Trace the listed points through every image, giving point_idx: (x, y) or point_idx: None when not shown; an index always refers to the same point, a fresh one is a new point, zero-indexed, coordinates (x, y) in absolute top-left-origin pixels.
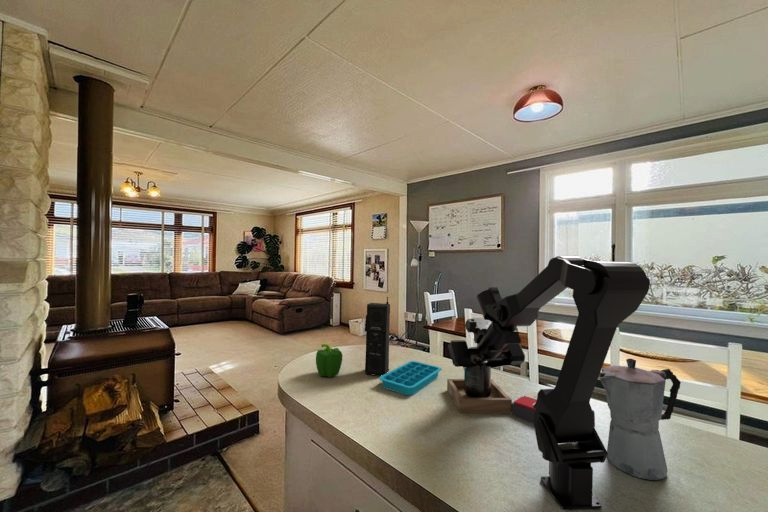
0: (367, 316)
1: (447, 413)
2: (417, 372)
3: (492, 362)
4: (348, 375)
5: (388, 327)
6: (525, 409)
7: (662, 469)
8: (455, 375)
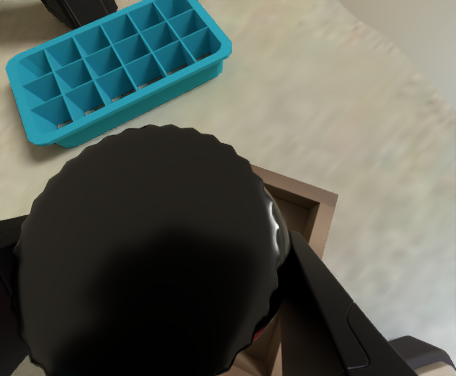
0: None
1: None
2: (149, 51)
3: (294, 326)
4: (17, 11)
5: None
6: None
7: None
8: (278, 79)
